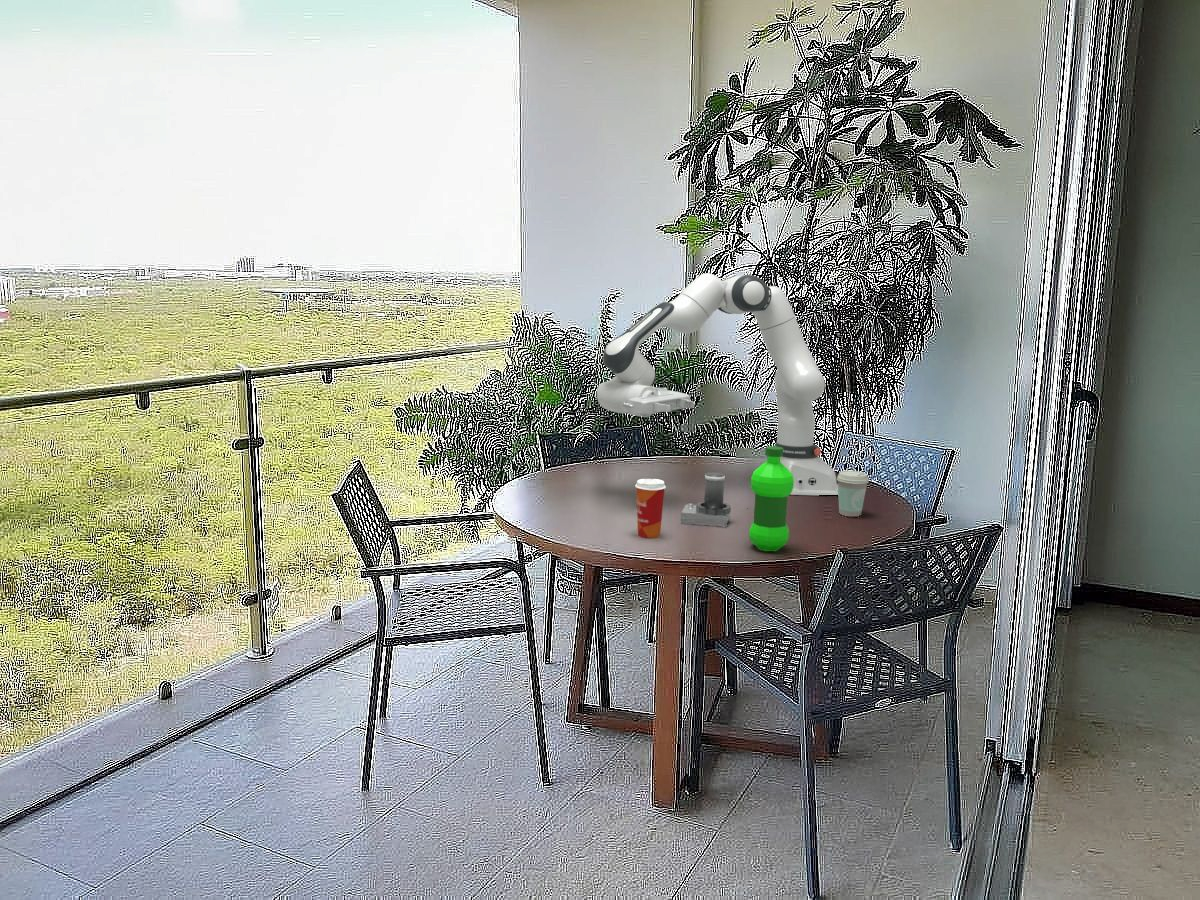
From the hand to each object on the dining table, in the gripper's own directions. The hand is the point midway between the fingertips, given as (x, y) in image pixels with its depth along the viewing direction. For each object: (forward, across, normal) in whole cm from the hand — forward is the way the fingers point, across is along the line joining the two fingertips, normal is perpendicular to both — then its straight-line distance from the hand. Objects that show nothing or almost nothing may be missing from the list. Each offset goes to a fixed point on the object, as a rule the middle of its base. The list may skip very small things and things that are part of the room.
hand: (682, 406), depth 252 cm
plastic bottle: (+36, -10, +30) cm, 48 cm away
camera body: (+11, -1, +30) cm, 32 cm away
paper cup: (+9, -23, +30) cm, 39 cm away
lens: (+12, 0, +27) cm, 29 cm away
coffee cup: (+34, +34, +30) cm, 57 cm away
